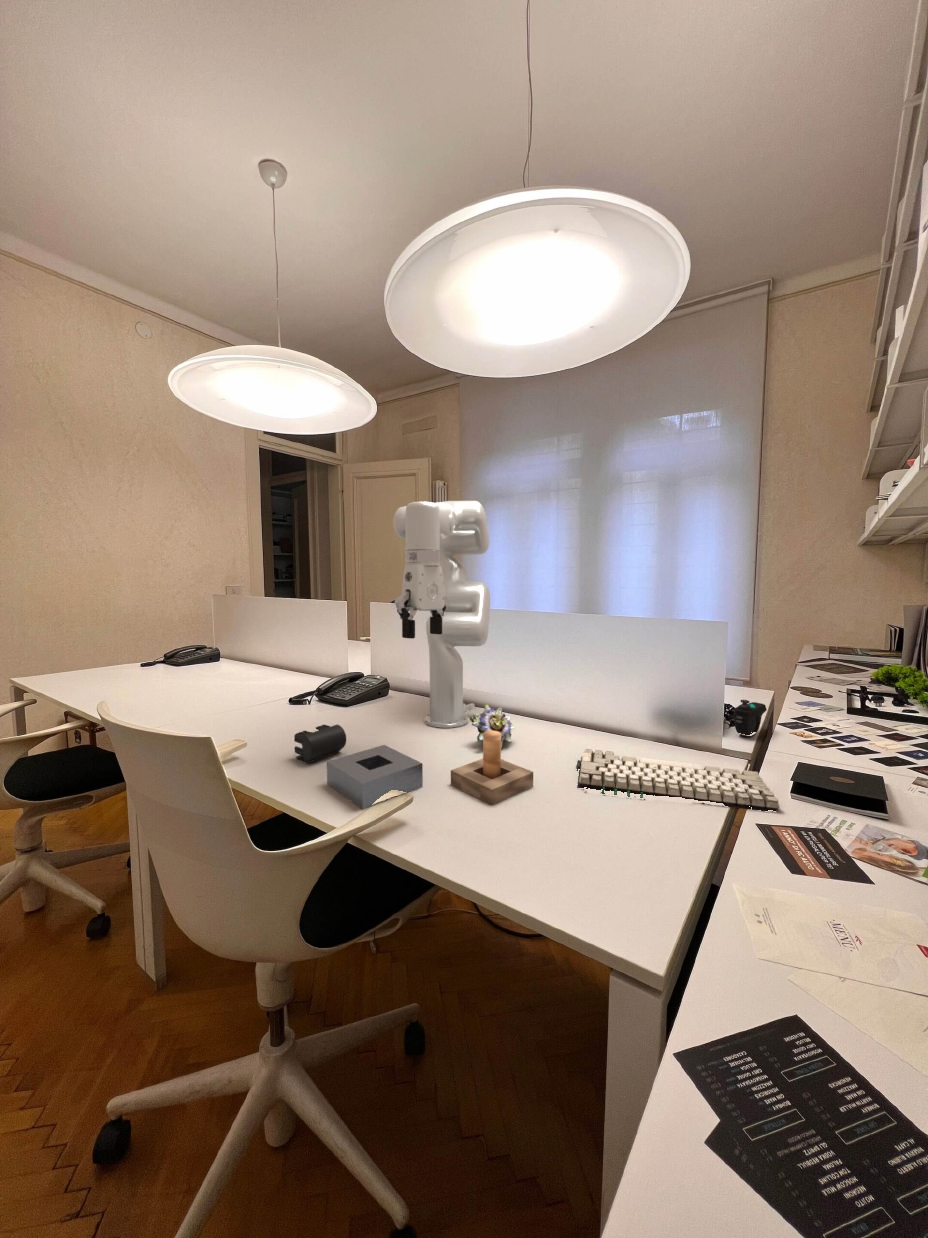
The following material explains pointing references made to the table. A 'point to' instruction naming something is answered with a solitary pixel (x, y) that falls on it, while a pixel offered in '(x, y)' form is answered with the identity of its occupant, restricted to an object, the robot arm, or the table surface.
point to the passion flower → (493, 723)
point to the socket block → (373, 774)
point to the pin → (492, 754)
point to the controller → (748, 717)
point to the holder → (491, 781)
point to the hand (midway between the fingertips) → (422, 636)
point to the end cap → (319, 742)
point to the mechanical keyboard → (674, 780)
